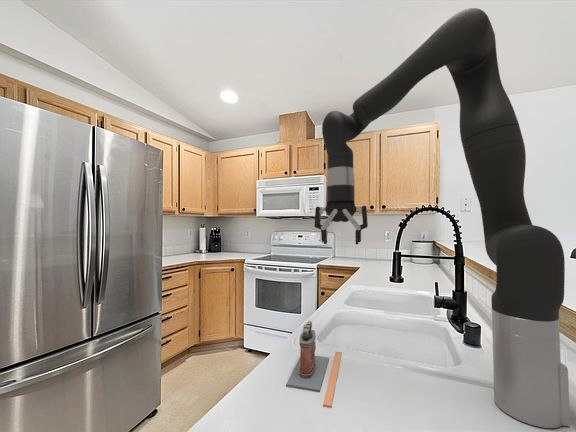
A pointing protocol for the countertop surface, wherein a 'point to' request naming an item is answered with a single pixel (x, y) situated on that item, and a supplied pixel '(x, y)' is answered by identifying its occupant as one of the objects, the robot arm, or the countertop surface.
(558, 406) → the robot arm
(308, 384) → the mat
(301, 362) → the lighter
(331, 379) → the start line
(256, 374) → the countertop surface
